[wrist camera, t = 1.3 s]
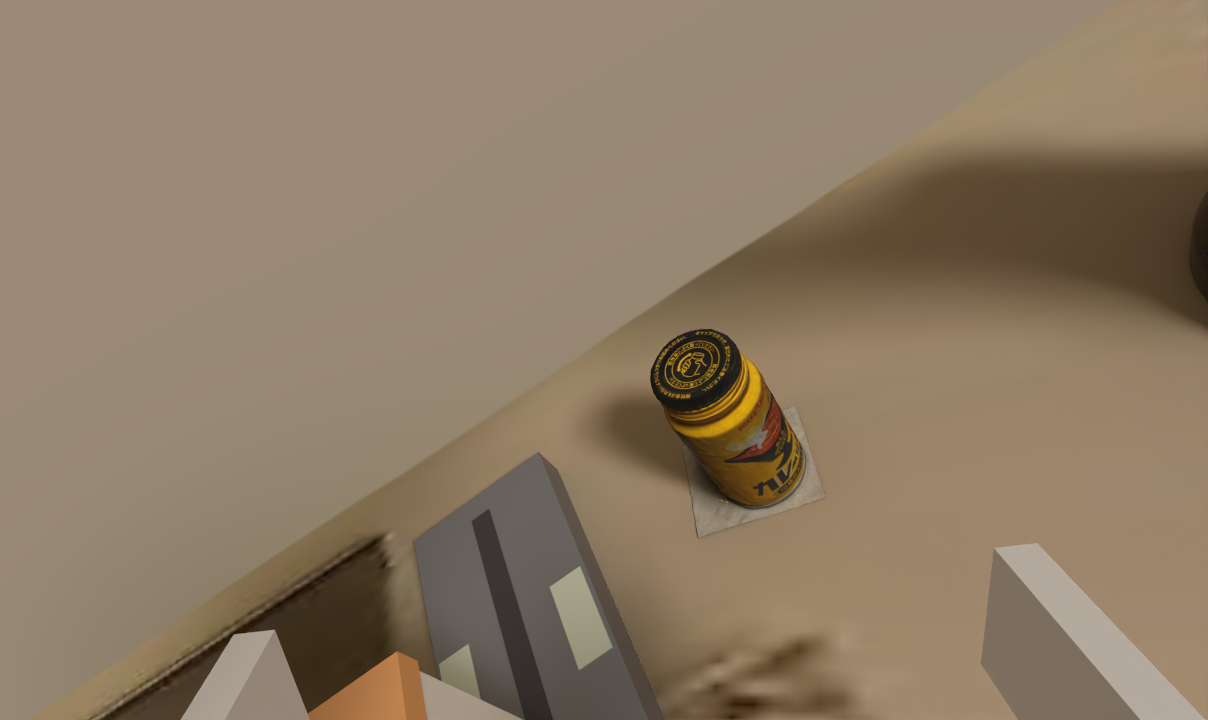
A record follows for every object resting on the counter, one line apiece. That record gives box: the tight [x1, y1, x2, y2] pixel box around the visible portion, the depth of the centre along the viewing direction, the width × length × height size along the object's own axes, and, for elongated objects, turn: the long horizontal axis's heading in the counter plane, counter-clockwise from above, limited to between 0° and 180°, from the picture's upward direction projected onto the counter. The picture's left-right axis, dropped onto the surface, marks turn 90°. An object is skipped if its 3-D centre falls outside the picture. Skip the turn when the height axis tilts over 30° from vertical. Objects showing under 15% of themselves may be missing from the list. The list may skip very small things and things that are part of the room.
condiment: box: [650, 329, 825, 538], centre depth 43 cm, size 7×8×12 cm
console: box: [414, 452, 664, 720], centre depth 44 cm, size 30×12×3 cm, turn 23°
